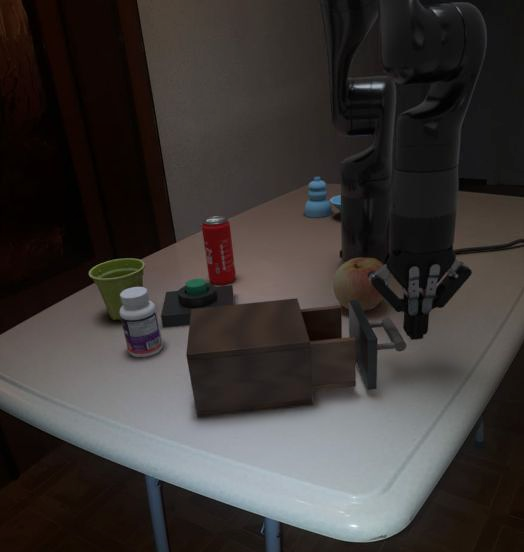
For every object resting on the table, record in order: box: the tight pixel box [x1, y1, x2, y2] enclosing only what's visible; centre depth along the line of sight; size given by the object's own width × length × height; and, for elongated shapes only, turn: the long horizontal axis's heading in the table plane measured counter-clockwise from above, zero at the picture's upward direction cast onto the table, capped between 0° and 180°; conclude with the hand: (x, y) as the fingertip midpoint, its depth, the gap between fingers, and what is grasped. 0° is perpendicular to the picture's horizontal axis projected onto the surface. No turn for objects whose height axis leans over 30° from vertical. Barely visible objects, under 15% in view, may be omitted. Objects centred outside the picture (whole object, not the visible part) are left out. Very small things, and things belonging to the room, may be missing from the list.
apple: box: [332, 258, 384, 313], centre depth 91 cm, size 9×9×8 cm
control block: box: [160, 282, 235, 328], centre depth 96 cm, size 12×10×4 cm
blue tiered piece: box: [304, 176, 341, 219], centre depth 137 cm, size 18×10×9 cm, turn 56°
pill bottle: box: [120, 286, 164, 358], centre depth 84 cm, size 5×5×10 cm
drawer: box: [300, 300, 408, 392], centre depth 73 cm, size 18×11×7 cm, turn 94°
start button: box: [184, 278, 208, 295], centre depth 95 cm, size 4×4×2 cm
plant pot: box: [88, 257, 146, 321], centre depth 96 cm, size 9×9×9 cm
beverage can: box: [201, 215, 236, 286], centre depth 105 cm, size 5×5×12 cm
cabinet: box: [185, 297, 314, 418], centre depth 73 cm, size 15×13×9 cm
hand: (415, 336), depth 73 cm, fingers closed
